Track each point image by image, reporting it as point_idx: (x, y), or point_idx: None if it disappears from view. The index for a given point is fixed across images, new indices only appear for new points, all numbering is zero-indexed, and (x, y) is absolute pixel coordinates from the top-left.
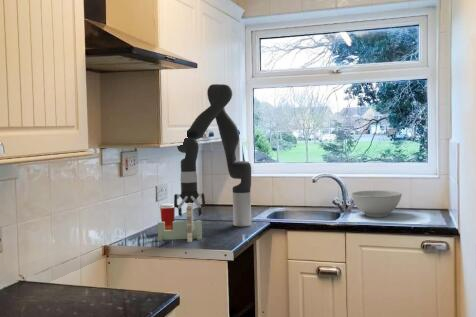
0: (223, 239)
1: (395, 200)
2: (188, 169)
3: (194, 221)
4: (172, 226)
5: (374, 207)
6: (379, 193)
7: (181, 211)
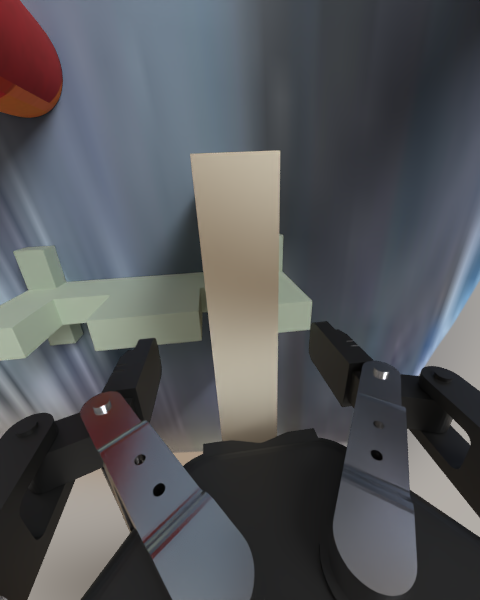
0: (370, 314)
1: None
2: None
3: None
4: (30, 81)
5: None
6: None
7: (150, 386)
